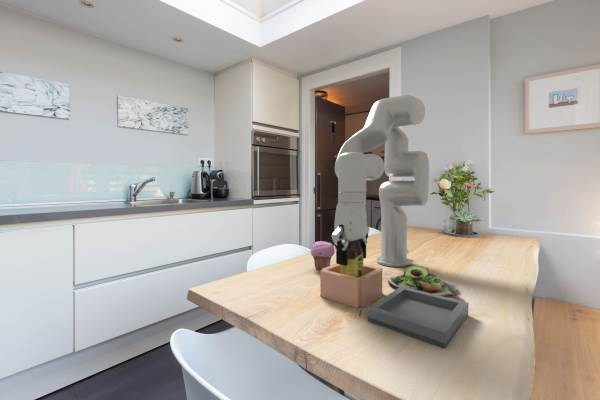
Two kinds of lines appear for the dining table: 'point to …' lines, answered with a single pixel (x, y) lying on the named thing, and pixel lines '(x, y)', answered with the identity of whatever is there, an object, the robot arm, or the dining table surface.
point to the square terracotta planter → (351, 285)
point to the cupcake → (322, 254)
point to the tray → (420, 315)
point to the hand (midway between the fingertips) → (351, 260)
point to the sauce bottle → (353, 260)
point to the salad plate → (423, 282)
